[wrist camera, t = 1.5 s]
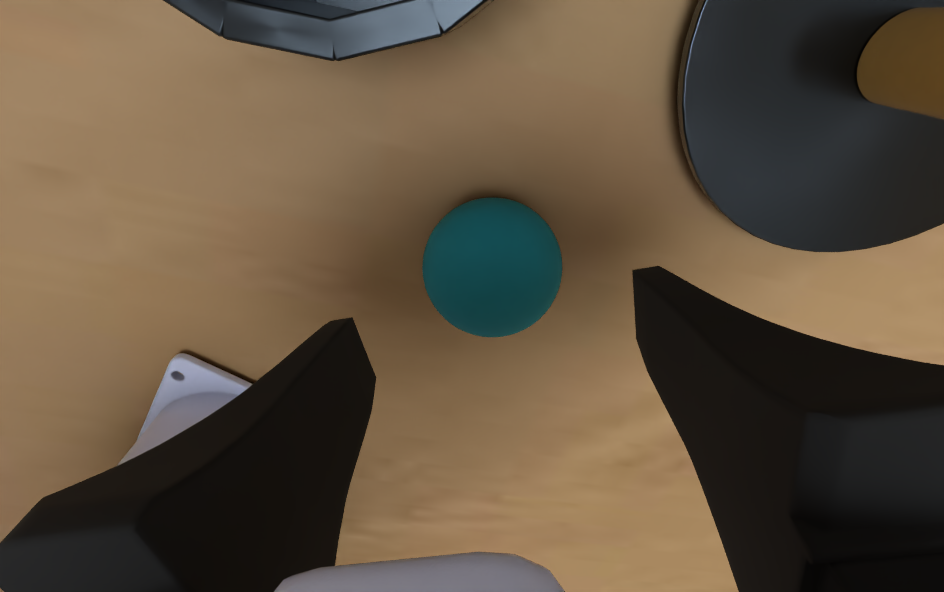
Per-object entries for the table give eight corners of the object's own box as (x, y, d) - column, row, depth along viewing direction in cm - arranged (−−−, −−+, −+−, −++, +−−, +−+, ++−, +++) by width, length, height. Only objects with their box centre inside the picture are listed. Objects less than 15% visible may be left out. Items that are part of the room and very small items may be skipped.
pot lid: (833, 295, 18) (927, 372, 14) (590, 115, 15) (625, 150, 11) (1205, -15, 13) (1506, -27, 9) (950, -372, 10) (1233, -606, 6)
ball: (506, 312, 19) (511, 388, 15) (407, 255, 18) (385, 321, 14) (579, 224, 17) (605, 284, 13) (473, 153, 16) (469, 197, 12)
